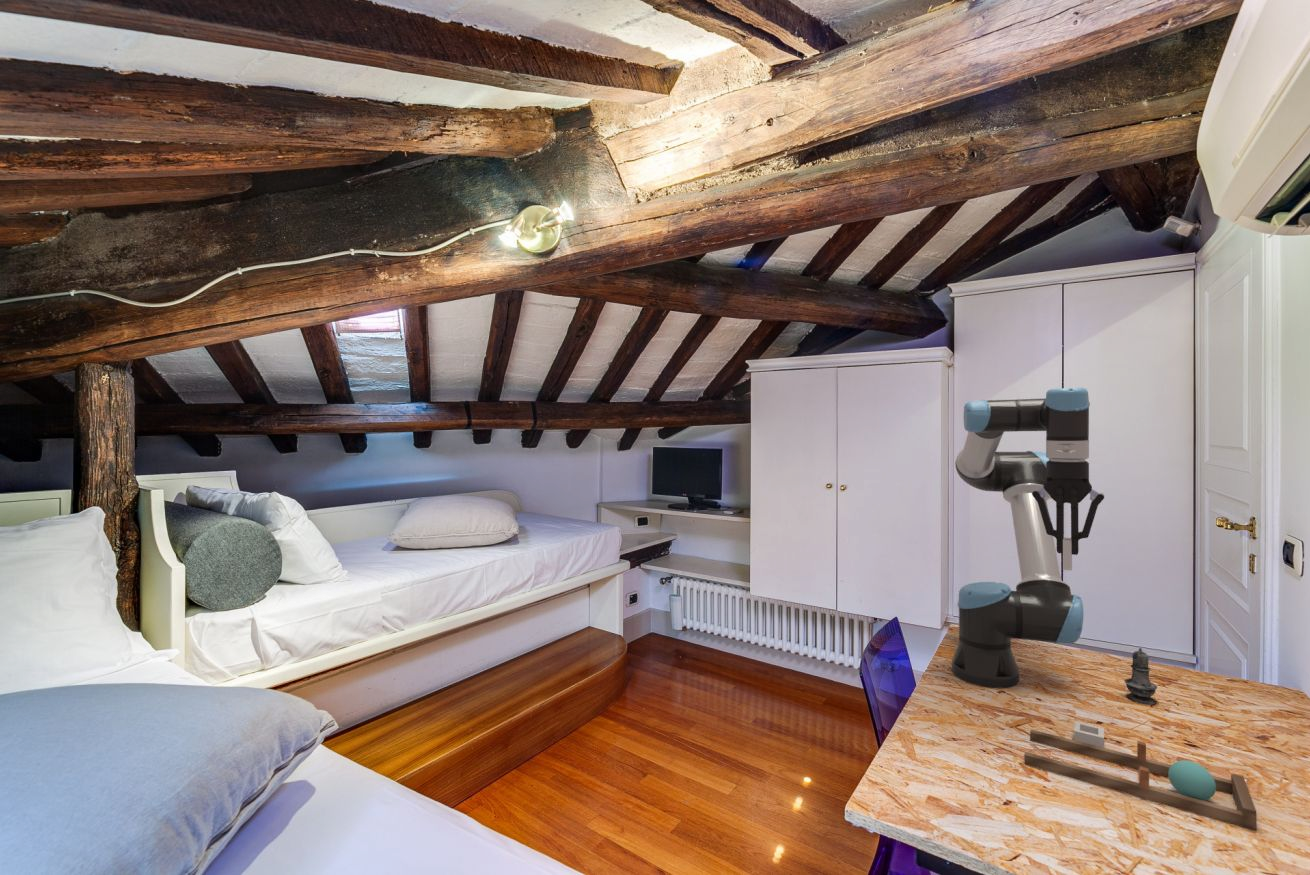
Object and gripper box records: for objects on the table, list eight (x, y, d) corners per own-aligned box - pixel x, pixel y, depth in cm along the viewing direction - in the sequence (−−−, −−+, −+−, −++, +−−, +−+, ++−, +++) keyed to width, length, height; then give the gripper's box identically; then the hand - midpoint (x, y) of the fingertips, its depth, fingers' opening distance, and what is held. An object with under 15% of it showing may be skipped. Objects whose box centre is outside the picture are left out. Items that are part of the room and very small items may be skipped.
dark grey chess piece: (1164, 704, 132) (1164, 652, 132) (1138, 705, 132) (1137, 652, 132) (1143, 693, 138) (1142, 642, 138) (1118, 693, 138) (1117, 643, 138)
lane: (1024, 763, 111) (1024, 738, 111) (1030, 737, 120) (1030, 714, 120) (1256, 830, 92) (1256, 800, 92) (1243, 793, 101) (1243, 766, 101)
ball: (1206, 816, 97) (1172, 788, 98) (1184, 796, 102) (1152, 770, 104) (1233, 791, 96) (1199, 763, 97) (1209, 772, 102) (1177, 746, 103)
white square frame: (1074, 740, 118) (1074, 730, 118) (1075, 730, 122) (1075, 721, 122) (1104, 748, 115) (1103, 738, 115) (1104, 737, 119) (1104, 727, 119)
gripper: (1029, 460, 126) (1030, 568, 127) (1105, 462, 118) (1105, 577, 119) (1032, 458, 132) (1033, 561, 133) (1105, 459, 124) (1105, 569, 125)
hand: (1067, 568), depth 126 cm, fingers closed
